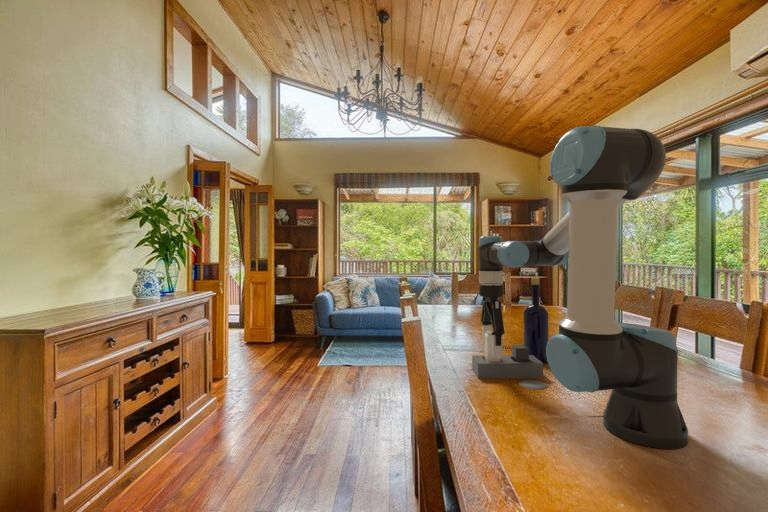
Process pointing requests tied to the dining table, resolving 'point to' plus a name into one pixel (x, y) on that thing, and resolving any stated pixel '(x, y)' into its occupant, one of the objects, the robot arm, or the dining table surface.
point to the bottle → (536, 325)
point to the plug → (489, 348)
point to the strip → (509, 365)
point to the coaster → (533, 384)
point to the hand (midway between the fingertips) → (491, 349)
